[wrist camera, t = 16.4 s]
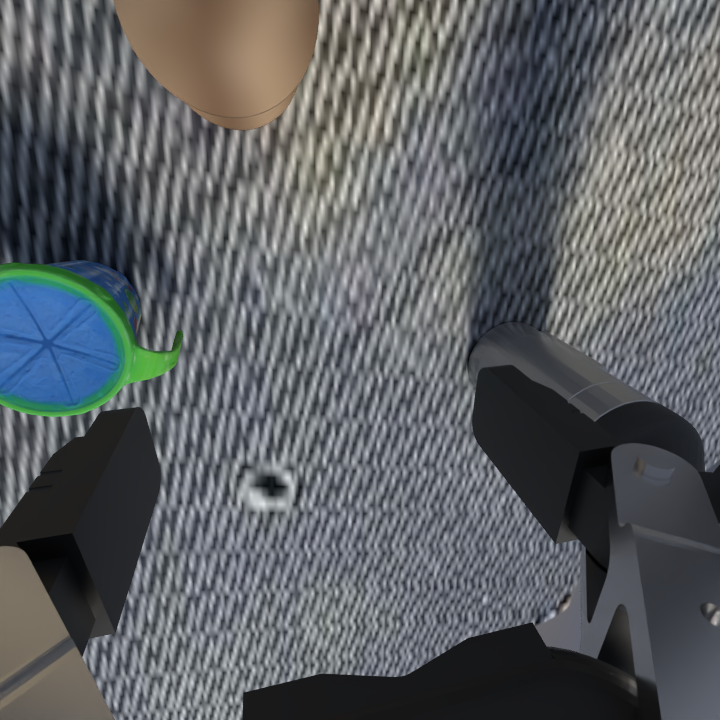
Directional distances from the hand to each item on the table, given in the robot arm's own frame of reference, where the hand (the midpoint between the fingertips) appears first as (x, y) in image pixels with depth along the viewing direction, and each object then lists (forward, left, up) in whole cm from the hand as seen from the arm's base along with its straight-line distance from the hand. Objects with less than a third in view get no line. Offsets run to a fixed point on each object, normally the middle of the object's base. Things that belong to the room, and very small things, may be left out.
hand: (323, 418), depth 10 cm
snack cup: (+16, +5, -30) cm, 35 cm away
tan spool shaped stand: (+2, -13, -30) cm, 33 cm away
